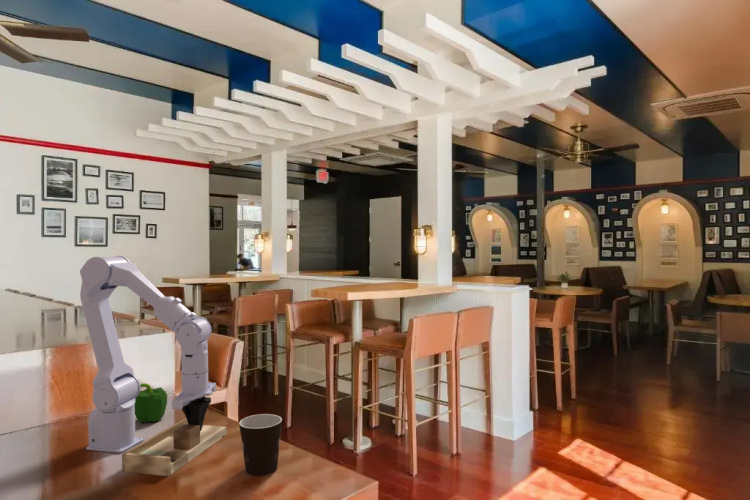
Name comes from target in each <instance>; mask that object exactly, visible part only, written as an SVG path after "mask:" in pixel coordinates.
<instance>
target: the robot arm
mask: <svg viewBox="0 0 750 500" xmlns="http://www.w3.org/2000/svg"><path fill="white" fill-rule="evenodd" d="M79 273H80V278H81V281H82V282H81V287H80V293H79V296H80V297H79V299H80V301H81V302H80V303H81V306H82V309H83V313H84V314H83V315H84V318H85V322H86V327H87V329H88V334H89V338H90V341H91V346H92V350H93V353H94V358H95V361H96V365H97V369H98V370H97V372H96V375H95V376H94V378H93V380H92V385H93V386H92V387H93V391H92V402H93V404H94V406H95V408H94V409H93V410H92V411H91V413H90V414H89V417H88V423H87V424H88V426H87V427H88V446H86V448H85V450H86V451H98V452H106V453H108V452H109V453H117V454H118V453H119V454H121V453H124V452H125V451H128V450H130V449H132V448H133V447H135V446H137V444H138V445H139V444H140V443H142V442H144V440H145V439H144V437H139V436H138V437H137V436H136V415H135V398H136V397H137V396H138V395H139V393H140V391H141V388H142V387H141V386H140V384H141V382H140V380H139V379H138V377H136V375H135V373H134V371H133V367H131V366H130V365H128V364H127V363H126V362H125V360H124V356H123V353H122V349H121V345H120V340H119V336H118V333H117V329H116V325H115V320H114V317H113V312H112V310H111V305H110V300H109V298H110V296H111V295H112V294H113V292H114V291H115V289H117V288H118V287H126V288H128V289H129V290H130V291H131V292H133V293H134V294H136V295H137V296H138V297H139V298H141V299H142V300H144V301H145V302H146V303H147V304H148V305H150V306H151V307H153V314H154V316H155V317H156V318H158V320H160V321H161V322H162V324H164V325H165V326H166V327H168V328H169V330H171V331H172V332H173V333H175V338H176V342H178V344H179V346H180V352H181V353H180V354H181V356H180V357H181V358H180V360H181V392H180V393H179V394H178V395H177V396H176V397H175V398H174V399H172V400H171V409H172V410H178V411H179V410H180V411H182V412H183V414H184V417H185V418H186V419H187V422H188V425H200V431H201V430H202V426H203V425H204V422H205V416H206V414H207V411H208V408H209V406H210V404H211V403H212V397H210V396H212V395H213V394H214V392H216V391H217V382H209V350H208V348H209V346H208V340H209V338H210V337H211V335H212V332H213V331H212V329H213V328H212V325H211V323H210V322H209V320H208V319H207V318H206V317H203V316H197V315H198V314H197V313H195V312H194V311H193V312H192V311H191V310H190V309H188V308H187V307H186V306H185V305H184V304H183V303H182V302H183V301H182V299H181V298H179V297H174V296H172V295H171V296H165V295H164V294H163V293H162V292H161V291H160V290H159V289H158V288H157V287H156V286H155V285H154V284H153V283H152V282H151V281H150V280H149V279H148V278H147V277H146V276H145V275H143V273H142V272H141V271H140V270H139V268H138V267H137V265H136V264H135V263H133V262H132V261H130V260H129V258H128V257H126V256H123V255H115V256H102V257H101V256H92V257H91V258H90V257H89V258H88V260H86V261H85V263H84V265H82V267H81V268H80V270H79Z"/></svg>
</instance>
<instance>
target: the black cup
mask: <svg viewBox="0 0 750 500" xmlns="http://www.w3.org/2000/svg"><path fill="white" fill-rule="evenodd" d="M282 422H283V418H282V417H281V416H279V415H276V414H271V413H270V414H269V413H260V414H259V413H258V414H253V415H249V416H245V417H244V418H242V419H240V421H239V422H238V425H239V433H240V439H241V440H240V441H241V446H242V447H241V448H242V452H243V460H244V461H243V462H244V468H245V473H246V474H247V475H249V476H252V477H263V476H268V475H270V474H273V473H275V472H276V471H277V470H278V464H279V463H278V462H279V456H280V442H281V434H282V433H281V432H282Z"/></svg>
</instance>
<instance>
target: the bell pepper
mask: <svg viewBox="0 0 750 500" xmlns="http://www.w3.org/2000/svg"><path fill="white" fill-rule="evenodd" d="M140 386H141V388H143V387H145V388H146V389H143V390H140V393H139V395H138V396H137V397H136V398H135V419H137V421H138V422H139V423H148V422H150V423H155V422H159V421H162V419H163V417H164V415H165V414H166V413H165V412H166V410H167V409H166V408H167V404H168V394H167V392H166V390H164V389H163V387H161V386H160V387H156V388H153V387H151V385H150V384H148V383H144V382H143V383H140Z"/></svg>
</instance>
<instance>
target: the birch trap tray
mask: <svg viewBox="0 0 750 500" xmlns="http://www.w3.org/2000/svg"><path fill="white" fill-rule="evenodd" d="M184 424H187V425H188V422H187V419H186V417H185V418H183V419H181V420H179V421H178V422H176V423H174V424H172V425H171V426H168V427H167V428H165V429H164V430H162V431H160V432H158V433H157V434H155V435H154V436H151V437H150V438H149V439H146V440H145V441H144V440H143V441H142V442H140V443H138V445H137V444H136V445H135V446H133V447H131V448H129V449H128V450H126V452H125V451H124V452H122V454H121V465H122V466H121V467H122V468H121V470H122V472H124V473H134V474H141V475H151V476H162V477H170V476H171V475H172V474H173V473H175V472H176V471H178V470H179V469H181V468H182V467H184V466H185V465H186V464H188V463H189V462H191V461H192V460H193V459H195V458H197V457H198V456H199V455H201V454H202V453H203V452H205V451H206V450H207V449H209V448H210V447H211V446H213V445H215V443H217V442H219V441H220V440H222V439H223V438H224V437H225V436H227V426H220V425H209V424H208V425H206V424H203V426H202V430H201V431H200V444H198V445H197V446H195V447H194V448H193V449H191V450H182V449H174V441H173V430H175V429H177V428H179V427H180V426H182V425H184ZM224 435H225V436H224ZM223 436H224V437H223ZM222 437H223V438H222Z"/></svg>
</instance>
